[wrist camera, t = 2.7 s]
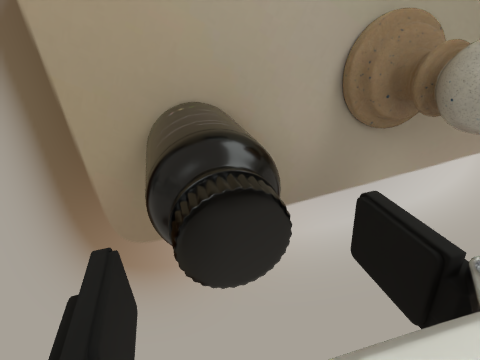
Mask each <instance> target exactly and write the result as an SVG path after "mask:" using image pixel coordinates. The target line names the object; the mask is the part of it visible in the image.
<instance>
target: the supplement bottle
mask: <svg viewBox="0 0 480 360" xmlns="http://www.w3.org/2000/svg"><path fill="white" fill-rule="evenodd" d="M280 191H281V187H280V177H279V173H278V170H277V167H276V165H275V163H274V161H273V159H272V157H271V156H270V155H269V153H268V152H267V151H266V150H265V149H264V147H263V146H261V145H260V144H259V143H258V142H257V141H256V140H255V139H254V138H253V137H252V136H251V135H249V134H248V133H247V132H246V131H245V130H244V129H243V128H242V127H241V126H240V125H238V124H237V123H236V122H235V121H234V120H233V119H232V118H231V117H230V116H228V115H227V114H226V113H225V112H223V111H222V110H220V109H219V108H217V107H215V106H212V105H210V104H206V103H201V102H188V103H183V104H179V105H177V106H174V107H172V108H170V109H169V110H167V111H166V112H164V113H163V114H162V115H161V116H160V117H159V118H158V119H157V120H156V122H155V123H154V125H153V127H152V128H151V131H150V133H149V136H148V141H147V152H146V189H145V197H146V207H147V212H148V216H149V218H150V221H151V223H152V225H153V227H154V228H155V230H156V231H157V233H158V234H159V235H160V236H161V237H162V238H163V239H164V240H165V241H166V242H167V243H169V244H170V245H172V246H173V249H174V256H175V259H176V261H177V262H178V263H179V267H180V269H181V270H183V271H185V274H186V276H188V277H190V278H192V279H193V281H194V282H198V283H201V284H202V285H203V286H210V287H212V288H222V289H224V288H228V287H232V288H235V287H237V286H239V285H246V284H247V283H248V282H251V281H255V280H256V279H258V278H259V277H261V276H264V275H265V274H266V272H267V271H269V270H271V269H272V268H273V267H274V265H275V264H276V263H278V262H279V261H280V259H281V256H282V255H283V254H284V253H285V251H286V247H287V246H288V245H289V242H290V241H289V239H290V237H291V235H292V232H291V227H292V223H291V221H290V214H289V212H288V211H287V209H286V205H285V204H284V202H283V201H282V200H281V199H280Z"/></svg>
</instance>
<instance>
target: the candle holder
mask: <svg viewBox="0 0 480 360" xmlns="http://www.w3.org/2000/svg"><path fill="white" fill-rule="evenodd" d="M343 92H344V98H345V101H346V104H347V106H348V108H349V110H350V112H351V113H352V114H353V116H354V117H355V118H357V119H358V120H359V121H361V122H362V123H364V124H366V125H369V126H372V127H376V128H390V127H394V126H397V125H400V124H402V123H404V122H406V121H407V120H409V119H411V118H412V117H413V116H414V115H416V114H417V113H418V112H420V113H422V114H424V115H426V116H432V117H435V116H442V117H443V119H444V120H445V121H446V122H447V123H448V124H449V125H451V126H452V127H454V128H455V129H457V130H460V131H463V132H466V133H471V134H480V40H477V41H475V42H473V43H471V44H470V43H469V42H467V41H464V40H460V39H453V40H449V41H446V39H445V35H444V32H443V29H442V27H441V25H440V23H439V22H438V21H437V19H436V18H435V17H434V16H433V15H431V14H430V13H428V12H426V11H424V10H421V9H417V8H403V9H398V10H394V11H391V12H388V13H386V14H384V15H382V16H381V17H379V18H377V19H376V20H375V21H373V22H372V23H371V24H370V25H369V26H368V27H367V28H366V29H365V30H364V31H363V32H362V33H361V35H360V36H359V38H358V39H357V40H356V42H355V43H354V45H353V47H352V49H351V51H350V53H349V56H348V59H347V61H346V65H345V69H344V75H343Z"/></svg>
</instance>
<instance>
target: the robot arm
mask: <svg viewBox="0 0 480 360" xmlns="http://www.w3.org/2000/svg"><path fill="white" fill-rule="evenodd" d="M351 253H352V256H353V257H354V259H355V260H356V261H357V262H358V263H359V264H360V265H361V266H362V268H363V269H364V270H365V271H366V272H367V273H368V274H369V275H370V277H371V278H372V279H373V280H374V281H375V282H376V283H377V284H378V285H379V287H380V288H381V289H382V290H383V291H384V292H385V293H386V294H387V295H388V297H389V298H390V299H391V300H392V301H393V302H394V303H395V304H396V306H397V307H398V308H399V309H400V310H401V311H402V312H403V313H404V314H405V316H406V317H407V318H408V319H409V320H410V321H411V322H412V323H413V324H415V325H418V326H419V327H420V328H421V330H418V331H415V332H412V333H409V334H406V335H403V336H400V337H397V338H394V339H390V340H387V341H384V342H381V343H378V344H375V345H372V346H369V347H366V348H363V349H360V350H357V351H354V352H351V353H347V354H345V355H342V356H339V357H335V358H332V359H329V360H480V256H477V257H474V258H472V259H471V260H470V261H469V262H468V261H467V260H466V259H464V258H465V255H466V252H464V251H463V250H462V249H460V248H459V247H457V246H456V245H454V244H453V243H451V242H450V241H448V240H447V239H446V238H444V237H443V236H441V235H440V234H438V233H437V232H435V231H434V230H432V229H431V228H430V227H428V226H427V225H425V224H424V223H422V222H421V221H420V220H418V219H417V218H415V217H414V216H412V215H411V214H410V213H408V212H407V211H405V210H404V209H402V208H401V207H399V206H398V205H397V204H395V203H394V202H392V201H390V200H389V199H388V198H387V197H385V196H384V195H382V194H381V193H379V192H378V191H371V192H367V193H363V194H361V195H360V198H358V199H357V203H356V211H355V219H354V228H353V235H352V243H351ZM136 326H137V305H136V302H135V299H134V296H133V293H132V290H131V288H130V285H129V281H128V279H127V276H126V273H125V270H124V267H123V264H122V261H121V259H120V255H119V253H118V251H117V250H116V251H112V249H111V248H106V249H101V250H96V251H93V252H92V253H91V256H90V259H89V263H88V266H87V269H86V273H85V276H84V279H83V282H82V286H81V289H80V292H79V295H75V296H72V297H71V298H69V300H68V302H67V305H66V309H65V311H64V314H63V317H62V320H61V323H60V326H59V329H58V332H57V335H56V338H55V341H54V344H53V347H52V350H51V353H50V356H49V359H48V360H134V357H135V342H136Z"/></svg>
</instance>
